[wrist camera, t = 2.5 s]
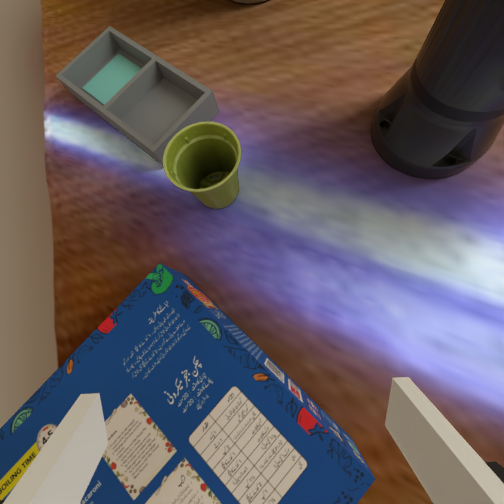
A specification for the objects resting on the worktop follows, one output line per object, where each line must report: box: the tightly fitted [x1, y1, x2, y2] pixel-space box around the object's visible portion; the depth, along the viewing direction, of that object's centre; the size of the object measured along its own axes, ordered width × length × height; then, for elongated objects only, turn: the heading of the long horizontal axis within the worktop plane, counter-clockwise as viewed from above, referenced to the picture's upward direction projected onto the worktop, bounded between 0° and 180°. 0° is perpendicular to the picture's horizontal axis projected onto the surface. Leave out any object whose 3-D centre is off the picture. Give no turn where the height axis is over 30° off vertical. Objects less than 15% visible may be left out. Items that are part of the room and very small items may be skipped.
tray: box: [56, 26, 219, 165], centre depth 43 cm, size 13×25×4 cm, turn 49°
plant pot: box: [163, 122, 241, 209], centre depth 35 cm, size 9×9×9 cm
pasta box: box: [0, 263, 375, 504], centre depth 28 cm, size 28×8×28 cm
